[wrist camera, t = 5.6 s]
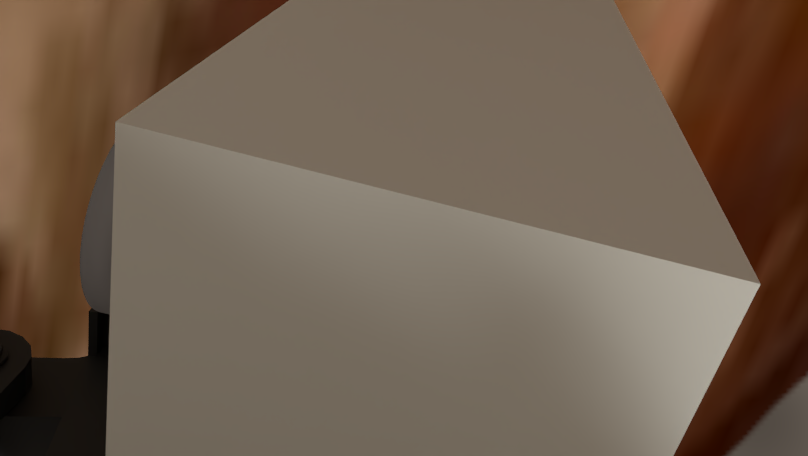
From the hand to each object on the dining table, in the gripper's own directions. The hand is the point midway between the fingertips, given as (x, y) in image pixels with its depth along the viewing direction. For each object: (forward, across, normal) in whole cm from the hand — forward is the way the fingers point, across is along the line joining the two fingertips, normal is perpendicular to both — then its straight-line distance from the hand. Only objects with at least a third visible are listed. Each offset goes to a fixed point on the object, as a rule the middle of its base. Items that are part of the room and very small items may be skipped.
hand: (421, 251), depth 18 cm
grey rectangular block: (0, 0, 0) cm, 0 cm away
